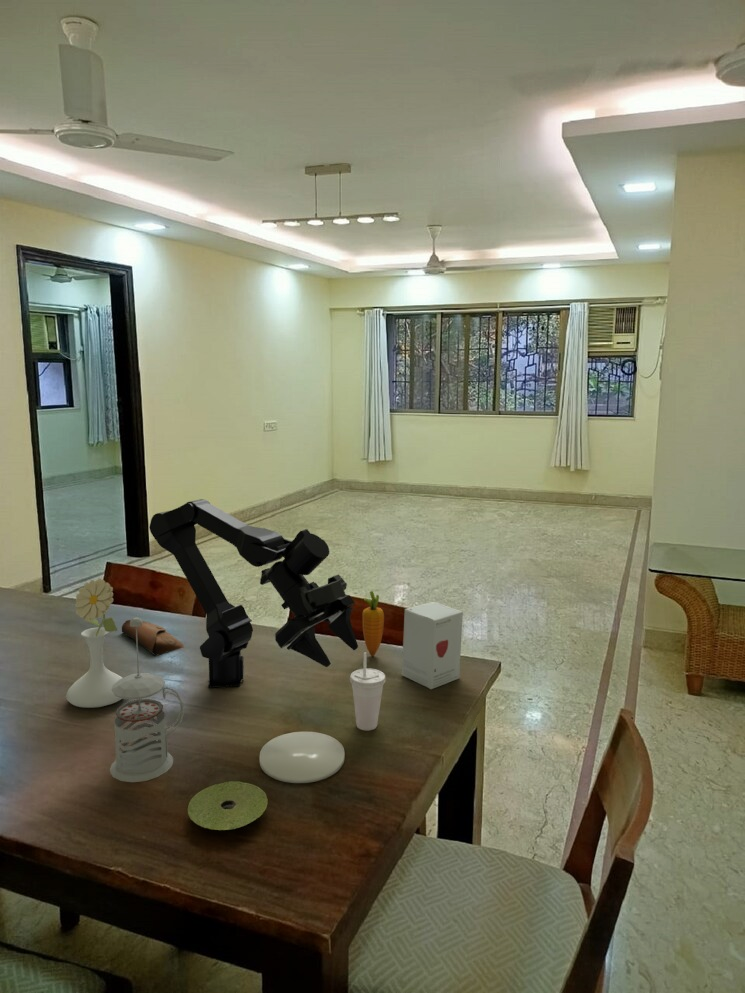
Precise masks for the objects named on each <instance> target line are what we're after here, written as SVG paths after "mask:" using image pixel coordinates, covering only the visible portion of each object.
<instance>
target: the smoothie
mask: <svg viewBox="0 0 745 993" xmlns="http://www.w3.org/2000/svg"><path fill="white" fill-rule="evenodd" d="M367 657H368V656H367V652H366V651H365V652H363V663H362V667H363V668H359V669H356V670H353V671H352V672H351V673H350V675H349V676H350V678H349V681H350V683H351V687H352V695H353V703H354V712H355V713H354V714H355V722H356V727H357V728H358V729H359V730H362V731H372V730H375V729H376V728H377V726H378V722H379V721H378V720H379V715H380V708H381V700H382V694H383V687H384V685H385V683H386V674H385V673H384V672H382V671H381V670H379V669H375V668H367V660H368V659H367Z"/></svg>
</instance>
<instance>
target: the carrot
mask: <svg viewBox="0 0 745 993" xmlns="http://www.w3.org/2000/svg"><path fill="white" fill-rule="evenodd" d="M369 594H370V595H369V596H370V598H371V599H370V598H366V597H365V598H364V599H363V601H364V602H366V603H367V604H368V605H369V606H368V607H365V608H364V609H363V611H362V613H361V614H362V632H363V640H364V644H365V646H366V649H367V651H368V654H369V655H370V656H371V657H374V656H375V655H376V653H377V652H378V650H379V648H380V646H381V642H382V638H383V634H384V625H385V624H384V623H385V614H384V610H383V609H382V608H381V607H378V603H379V600H380V595H379V594H376V596H375V593H374V591H373V590H371V591H369Z"/></svg>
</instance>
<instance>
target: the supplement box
mask: <svg viewBox="0 0 745 993" xmlns="http://www.w3.org/2000/svg"><path fill="white" fill-rule="evenodd" d="M463 614H464V613H463V611H461V610H459V609H456V608H453V607H450V606H447V605H444V604H442V603H439V602H436V601H431V602H430V601H429V602H427V603H423V604H418V605H416V606H411V607H408V608H404V619H403V640H402V662H401V664H402V666H401V667H402V670H401V675H402V677H405V678H406V679H409V680H411V681H414V682H415V683H417V684H419V685H421V686H424V687H425V688H427V689H429V690H433V689H436V688H438V687H440V686H443V685H446V684H448V683H451V682H454V681H456V680H459V679H460V672H461V655H462V654H461V652H462V634H463V633H462V632H463Z"/></svg>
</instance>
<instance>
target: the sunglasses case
mask: <svg viewBox="0 0 745 993" xmlns="http://www.w3.org/2000/svg"><path fill="white" fill-rule="evenodd" d="M130 621H131V619H128V620H125V621H124V622H123V623H122V626H121V632H122V633H123V634H124V635H126V636H128V638H131V639H133V640H134V641H135V642H136V627H132V626H130ZM137 639H138V644H139V645H141V646H142V647H143V648H145V649H146V650H147V651H149V653H151V654H153V655H154V656H159V655H162V654H166V653H169V652H174V651H176V650H177V651H178V650H180V649H184V648H185V645H184V644H183V643H182V642H181V641H179V640H178V638H176V637H174V636H173V635H172V634H171V633H170V632H168V631H166V629H165V628H164V627H162V626H160V625H158V624H154V623H151V622H148V621H143V620H142V625H141V626H137Z"/></svg>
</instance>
